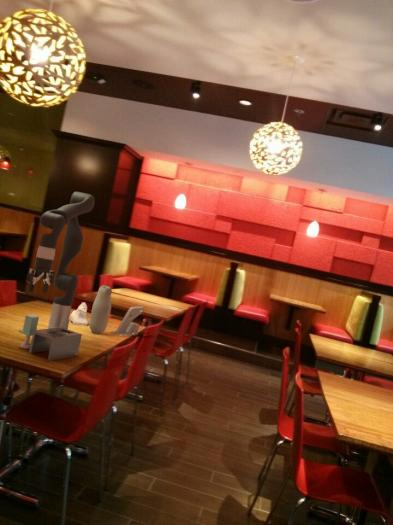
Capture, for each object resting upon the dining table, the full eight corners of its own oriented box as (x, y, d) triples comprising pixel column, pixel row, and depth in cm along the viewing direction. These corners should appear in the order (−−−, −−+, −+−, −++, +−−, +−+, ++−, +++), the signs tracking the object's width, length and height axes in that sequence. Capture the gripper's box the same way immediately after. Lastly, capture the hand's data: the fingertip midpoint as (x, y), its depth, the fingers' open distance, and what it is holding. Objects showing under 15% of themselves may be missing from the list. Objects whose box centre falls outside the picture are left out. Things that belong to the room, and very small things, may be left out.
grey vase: (108, 334, 259) (118, 288, 258) (96, 335, 250) (107, 287, 249) (95, 329, 263) (105, 284, 263) (84, 330, 254) (94, 283, 254)
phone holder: (125, 330, 281) (131, 302, 281) (139, 334, 277) (145, 306, 277) (110, 332, 265) (117, 303, 265) (124, 337, 261) (131, 307, 261)
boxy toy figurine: (26, 344, 202) (32, 314, 201) (35, 348, 199) (42, 317, 199) (15, 346, 196) (22, 314, 196) (25, 350, 194) (32, 318, 194)
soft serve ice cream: (88, 325, 280) (98, 305, 279) (83, 331, 265) (93, 310, 264) (71, 316, 279) (80, 296, 278) (64, 321, 264) (74, 301, 263)
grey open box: (57, 347, 208) (61, 327, 208) (77, 355, 203) (81, 334, 203) (28, 352, 192) (33, 330, 192) (49, 360, 187) (54, 337, 187)
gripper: (50, 256, 205) (42, 290, 205) (27, 254, 192) (19, 290, 192) (62, 260, 202) (55, 294, 202) (39, 257, 189) (31, 294, 189)
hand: (37, 292), depth 197 cm, fingers open, 8 cm apart
